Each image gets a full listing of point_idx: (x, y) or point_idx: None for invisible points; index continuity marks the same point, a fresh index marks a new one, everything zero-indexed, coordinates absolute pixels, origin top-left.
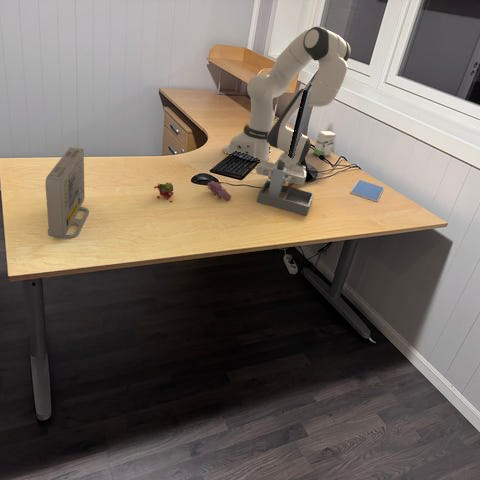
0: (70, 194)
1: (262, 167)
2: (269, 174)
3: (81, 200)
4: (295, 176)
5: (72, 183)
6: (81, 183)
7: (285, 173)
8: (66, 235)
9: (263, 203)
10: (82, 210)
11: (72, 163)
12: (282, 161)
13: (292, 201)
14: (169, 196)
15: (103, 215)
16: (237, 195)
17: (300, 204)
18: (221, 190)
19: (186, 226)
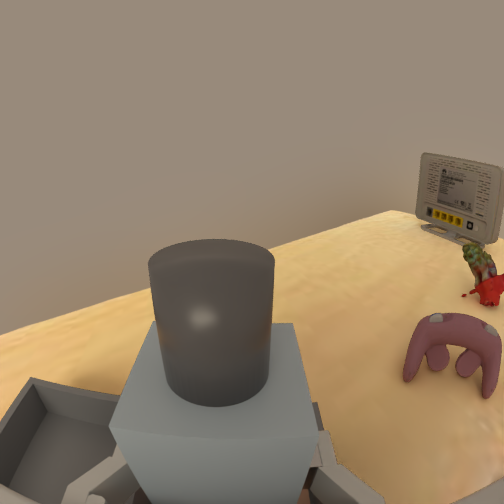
0: (444, 189)
1: (476, 492)
2: (331, 443)
3: (478, 234)
4: (16, 493)
5: (453, 181)
6: (484, 210)
7: (135, 472)
8: (425, 225)
9: None
10: None
11: (460, 160)
12: (198, 252)
13: (103, 398)
14: (480, 297)
15: (454, 248)
16: (415, 431)
17: (65, 386)
18: (428, 316)
19: (367, 263)
